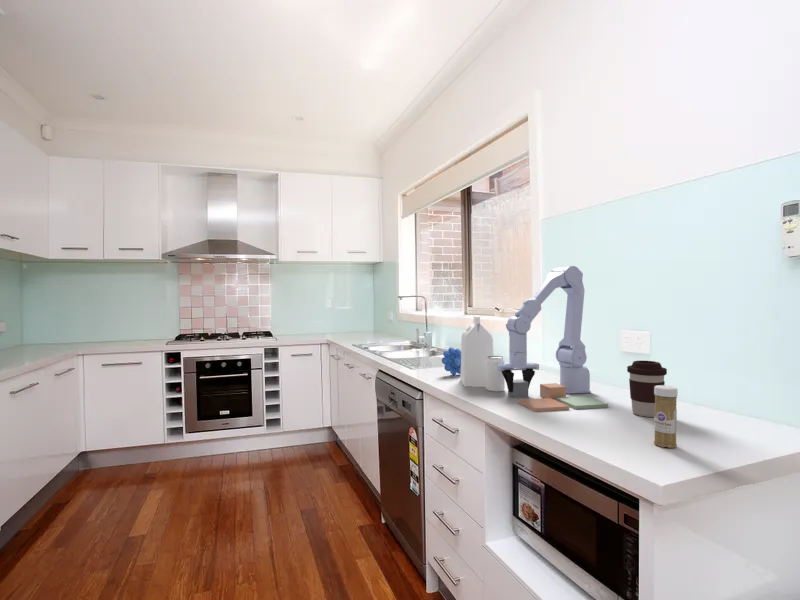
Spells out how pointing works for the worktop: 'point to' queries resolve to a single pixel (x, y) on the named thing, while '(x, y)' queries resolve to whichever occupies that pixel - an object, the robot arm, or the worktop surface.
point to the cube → (519, 388)
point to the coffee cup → (645, 386)
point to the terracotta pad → (543, 404)
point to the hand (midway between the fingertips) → (518, 391)
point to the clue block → (552, 390)
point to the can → (494, 374)
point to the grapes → (452, 360)
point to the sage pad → (581, 402)
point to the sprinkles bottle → (665, 416)
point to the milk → (475, 354)
